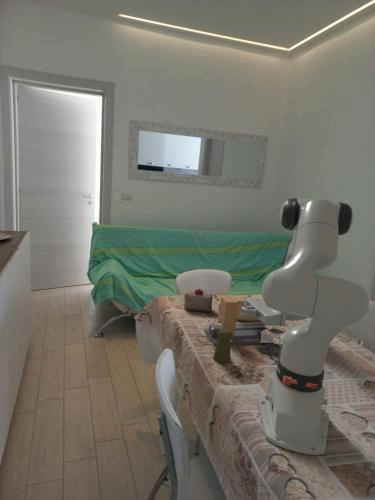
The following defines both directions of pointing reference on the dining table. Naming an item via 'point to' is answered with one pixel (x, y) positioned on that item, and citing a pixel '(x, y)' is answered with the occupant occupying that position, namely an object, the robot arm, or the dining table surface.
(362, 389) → the dining table surface
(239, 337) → the base board
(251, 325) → the grey banded bar
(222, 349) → the cork
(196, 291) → the food item
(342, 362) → the dining table surface
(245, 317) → the trivet
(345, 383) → the dining table surface
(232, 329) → the orange brown tall block
